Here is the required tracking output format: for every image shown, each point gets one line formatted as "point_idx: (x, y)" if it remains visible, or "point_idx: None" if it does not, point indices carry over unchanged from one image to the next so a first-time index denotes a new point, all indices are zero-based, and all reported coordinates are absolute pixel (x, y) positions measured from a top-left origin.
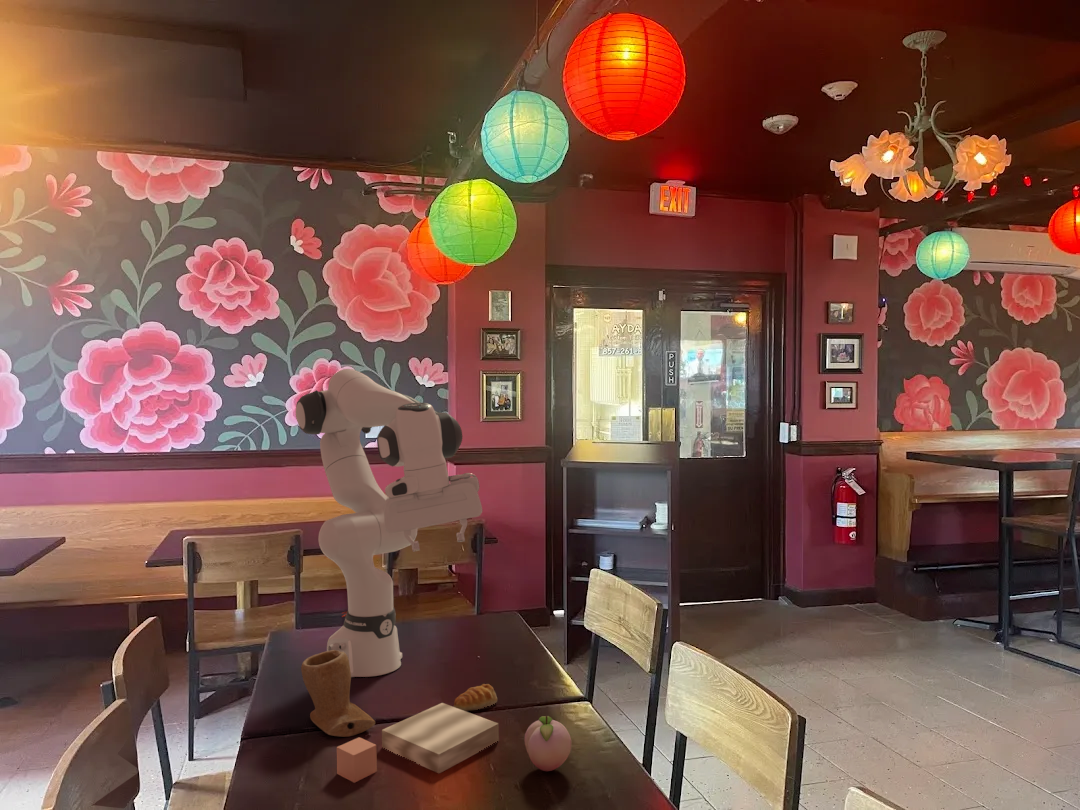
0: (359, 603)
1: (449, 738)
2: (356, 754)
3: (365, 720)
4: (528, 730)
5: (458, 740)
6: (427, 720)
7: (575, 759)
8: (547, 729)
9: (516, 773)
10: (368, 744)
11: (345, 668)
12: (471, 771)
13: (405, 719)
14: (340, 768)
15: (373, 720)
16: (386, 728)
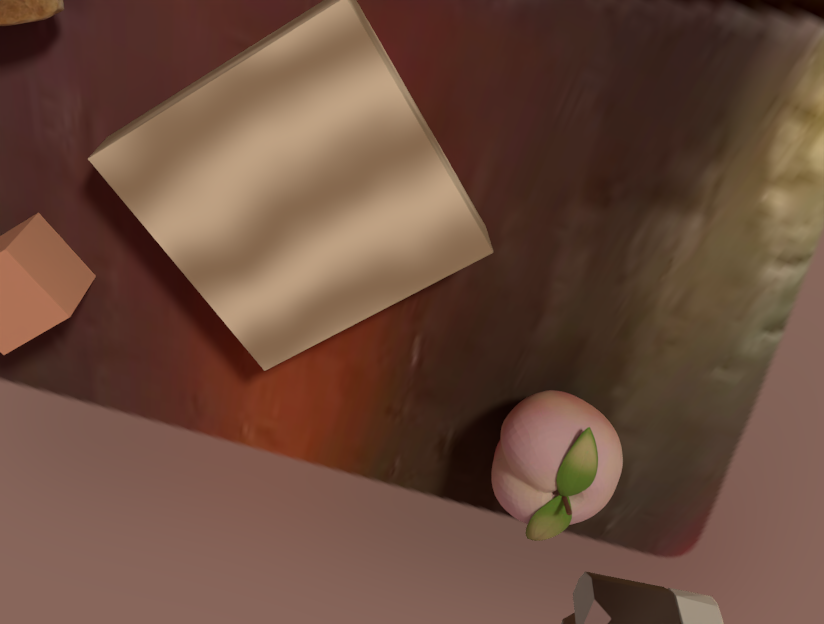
0: None
1: (312, 295)
2: (11, 349)
3: (16, 24)
4: (516, 463)
5: (337, 316)
6: (261, 142)
7: (632, 385)
8: (546, 534)
9: (463, 398)
10: (43, 306)
11: None
12: (357, 356)
13: (178, 104)
14: None
15: (52, 11)
16: (104, 154)
